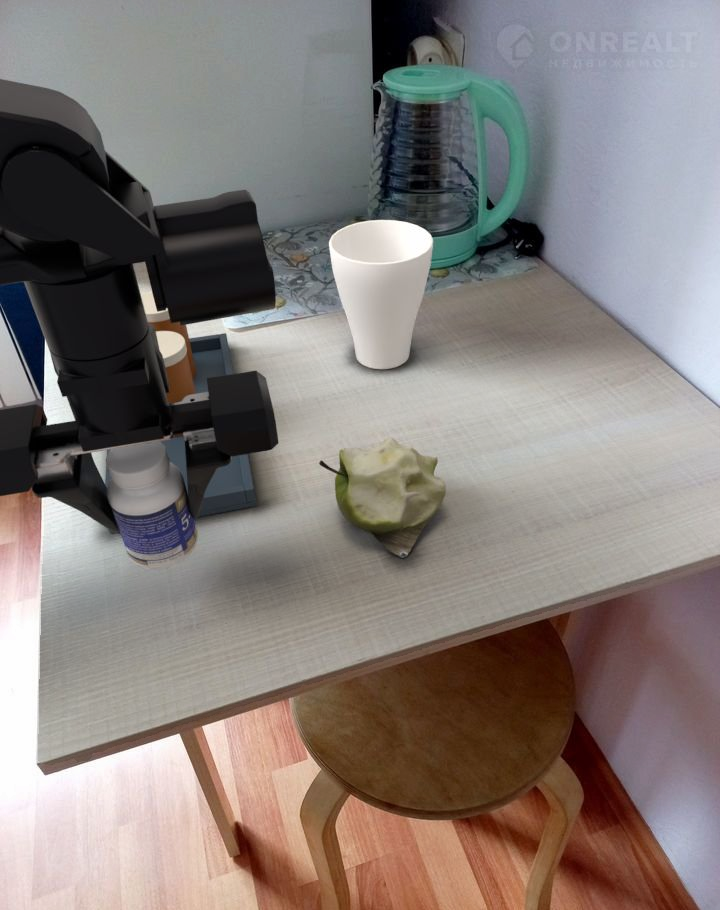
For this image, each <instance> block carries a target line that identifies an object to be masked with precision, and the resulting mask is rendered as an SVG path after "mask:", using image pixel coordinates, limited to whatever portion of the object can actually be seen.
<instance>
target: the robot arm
mask: <svg viewBox="0 0 720 910" xmlns="http://www.w3.org/2000/svg"><path fill="white" fill-rule="evenodd" d="M101 133H102V132H101V131H100V129H99V128H98V126H97V124H96V123H95V121H94V119H93V118H92V116H91V115H90V114H89V112H88V110H87V109H86V108H85V107H83V105H82V104H80V103H79V102H78V101H77V100H76V99H74V98H72V97H70V96H69V95H67V94H65V93H64V92H62V91H59V90H55V89H51V88H48V87H44V86H39V85H33V84H29V83H23V82H18V81H13V80H8V79H2V78H0V286H6V285H13V284H17V283H23V284H24V286H25V289H26V291H27V294H28V297H29V301H30V302H31V305H32V308H33V310H34V314H35V315H36V318H37V321H38V324H39V327H40V329H41V332H42V335H43V338H44V340H45V343H46V345H47V348H48V350H49V353H50V358H51V362H52V365H53V369H54V372H55V374H56V376H57V381H56V383H57V386H58V389H59V391H60V394H61V397H62V398H66V400H67V402H68V405H69V407H70V409H71V412H72V413H71V414H72V415H73V417H74V420H70V421H64V422H60V423H52V424H48V417H47V414H46V413H45V410H44V407H43V406H41V405H39V404H38V403H35V404H29V405H22V406H15V407H8V408H1V409H0V497H4V496H10V495H16V494H22V493H23V494H24V493H27V492H30V491H32V493H33V495H34V496H35V497H36V498H38V499H44V498H51V499H54V500H56V501H59V502H61V503H62V504H65V505H66V506H69V507H71V508H73V509H75V510H77V511H79V512H81V513H82V514H84V515H85V516H87V517H89V518H90V519H92V520H93V521H95V522H97V524H100V525H101V526H103V527H104V528H106V529H107V530H108V529H109V530H111V531H112V532H114V533H113V534H116V533H120V531H119V528H118V525H117V523H116V520H115V517H114V515H113V512H112V509H111V507H110V503H109V501H108V497H107V488H106V485H105V480H104V479H103V478H102V475H101V473H100V471H99V469H98V466H97V464H96V463H95V460H94V458H93V454H92V453H97V452H103V451H107V450H110V449H116V448H122V447H128V446H134V445H140V444H146V443H152V442H158V441H164V440H170V439H172V438H173V436H174V435H178V434H183V435H184V442H185V456H186V471H187V486H188V500H189V510H190V513H191V516H192V518H194V519H198V518H199V517H198V515H199V512H200V508H201V505H202V501H203V498H204V494H205V491H206V489H207V486H208V485H209V483H210V481H211V479H212V477H213V475H214V473H215V472H216V470H217V468H219V467H224V466H227V465H229V464H230V463H231V461H232V457H233V456H239V455H244V454H248V455H250V454H256V453H261V452H266V451H272V450H273V449H274V448H275V447H276V446H277V445H278V444H279V435H278V429H277V422H276V416H275V411H274V407H273V402H272V398H271V395H270V390H269V386H268V382H267V377H266V376H264V375H263V374H262V373H260V372H259V371H258V370H251V371H250V370H249V371H244V372H243V371H242V372H237V373H233V374H230V375H223V376H217V377H210V378H207V384H208V392H203V393H197V394H191V395H188V396H186V397H184V398H183V399H182V401H180V402H177V403H170V404H169V403H168V399H167V396H166V393H169V392H170V388H169V380H168V376H167V372H166V368H165V364H164V360H163V356H162V353H161V352H160V350H159V345H158V340H157V335H156V331H155V326H154V325H148V321H147V317H146V314H145V310H144V306H143V302H142V298H141V294H142V293H141V290H140V287H139V282H138V278H137V275H136V272H135V271H136V270H135V267H134V264H140V263H144V264H145V268H146V272H147V276H148V281H149V283H150V289H151V291H152V293H153V297H154V301H155V305H156V309H157V312H159V311H164V310H166V308H168V313H169V317H170V321H171V323H177V322H180V325H186V326H187V325H192V324H197V323H204V322H210V321H215V320H220V319H227V318H232V317H237V316H243V315H247V314H253V313H259V312H265V311H271V310H275V309H276V304H277V303H276V302H277V299H276V298H277V297H276V293H277V292H276V283H275V275H274V274H275V273H274V269H273V266H272V264H271V263H270V261H269V259H268V255H267V251H266V245H265V241H264V238H263V234H262V229H261V226H260V223H259V218H258V210H257V209H258V208H257V204H256V202H255V199H254V198H253V195H251V193H250V191H248V190H247V189H238V190H233V191H231V190H230V191H227V192H223V193H221V194H218V195H216V196H213V197H209V198H201V199H194V200H187V201H180V202H172V203H167V204H159V205H158V204H157V205H154V201H153V198H152V194H151V192H150V190H149V189H148V188H147V187H146V186H145V185H144V184H143V183H142V182H141V181H140V180H139V179H137V177H135V176H134V175H133V174H132V173H131V172H129V171H128V169H126V168H125V167H124V166H123V165H122V164H120V162H119V161H118V160H116V159H115V158H114V157H113V156H112V155H111V154H110V153H109V152H108V151H107V150H106V149H105V145H104V142H103V141H104V140H103V138H102V134H101ZM109 530H108V531H109Z"/></svg>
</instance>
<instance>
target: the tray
mask: <svg viewBox="0 0 720 910" xmlns="http://www.w3.org/2000/svg"><path fill="white" fill-rule="evenodd" d="M189 341H190V345H191V350H192V354H193V359H194V363H195V368H196V376H195V378H194V379H193V383H194V387H195V392H196V394H197V393H203V392H208V384H207V378H210V377H217V376H223V375H230V374H234V369H233V368H234V367H233V364H232V358H231V357H232V356H231V353H230V346H229V341H228V336H227V333H226V332H225V333H216V334H210V335H204V336H197V337H189ZM161 442H162V443H163V444H164V445H165V448H166V450H167V454H168V456H169V461H170V462H171V463H173V464H174V465H176V466H177V467H178V468H179V470H180V471H181V473H182V475H183V478H184V481H185V486H186V490H187V494H188V486H187V471H186V456H185V442H184V435H183V436H179V437H173V438H172V439H170V440H164V441H161ZM110 450H111V449H110ZM110 450H106V456H107V455H108V453H109V451H110ZM110 480H111V477H110V475H109V472H108V469H107V465H106V464H105V480H104V483H105V485H106V488H108V484H109V482H110ZM255 491H256V490H255V486H254V481H253V475H252V470H251V464H250V458H249V454H244V455H239V456H233V457H232V461H231V463H230V464H229V465H227V466H224V467H219V468H217V470H216V472H215V473H214V475H213V477H212V479H211V481H210V483H209V485H208V486H207V489H206V491H205V494H204V498H203V501H202V505H201V508H200V512H199V515H198V518H199V517H204V516H210V515H215V514H221V513H226V512H227V513H228V512H233V511H236V510H243V509H248V508H253V507H257V506H258V503H257V498H256V492H255ZM107 530H108V532H109V534H115V533H114V532H112V531H111V530H109V529H108V528H107Z"/></svg>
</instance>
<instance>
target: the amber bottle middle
mask: <svg viewBox="0 0 720 910" xmlns="http://www.w3.org/2000/svg"><path fill="white" fill-rule="evenodd" d="M156 335H157V340H158V345H159V350H160V352H161V353H162V356H163V360H164V364H165V368H166V372H167V376H168V380H169V388H170V392H169V393H166V396H167V399H168V403H169V404H170V403H177V402H180V401H182V399H183V398H184V397H186V396H188V395H191V394H196V392H195V387H194V383H193V379H192V374H191V370H190V365H189V361H188V357H187V347H186V343H185V339H184V338H183V336H182V335H180V334H178V333H176V332H171V331H157V332H156ZM179 436H183V434H178V435H174V436H173V437H179Z"/></svg>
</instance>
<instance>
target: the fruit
mask: <svg viewBox="0 0 720 910" xmlns="http://www.w3.org/2000/svg"><path fill="white" fill-rule="evenodd" d="M338 457H339V468H338V470H337V469H335V468H333V467H331V466H329V465H328V464H326V463H325V462H324V460H322V459H321V460H320V461H319V463H318V465H319V466H321V467H322V468H324V469H326V470H328V471H330V472H332V473H333V474H336V475H335V477H334V490H335V493H334V494H335V500H336V503H337V507H338V509H339V511H340V512H341V514H342V515H343V517H344V518H345V519H346V521H348V522H349V523H350V524H352V525H354V526H356V527H357V528H360V530H363V531H365V532H367V533H368V534H370V535H371V536H373V537H374V538H375V539H376V540H377V541H378V542H379V543H380V544H381V545H383V546H384V547H385V548H386V549H387V550H388V551H390V552H391V553H392V554H394V555H396V556H398V557H400V558H403V559H404V558H407V557H408V556H409V554H410V552H411V551H412V548H413V546H414V545H415V543H416V541H417V540H418V538H419V536H420V534H421V533H422V531H423V530H424V528H425V526H426V525H427V523H428V522H430V521H431V519H433V517H434V515H435V514H437V512H438V510H439V509H440V507H441V505H442V503H443V501H444V498H445V495H446V493H447V486H446V483H445V481H444V480H443V479H442V478H441V477H439V476H435V470H436V467H437V464H438V462H439V459H438V456H430V455H422V454H420V453H419V452H418V450H416V449H414V448H413V446H403V445H401V444H400V443H398V441H397V440H396V439H395V438H393V437H392V436H387V437H385V439H384V440H383V441H382V442H381V444H380V445H378V446H375V447H373V448H371V449H362V448H360V447H354V448H349V447H348V448H346V447H345V448H341V449H340V450H339V451H338Z"/></svg>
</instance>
